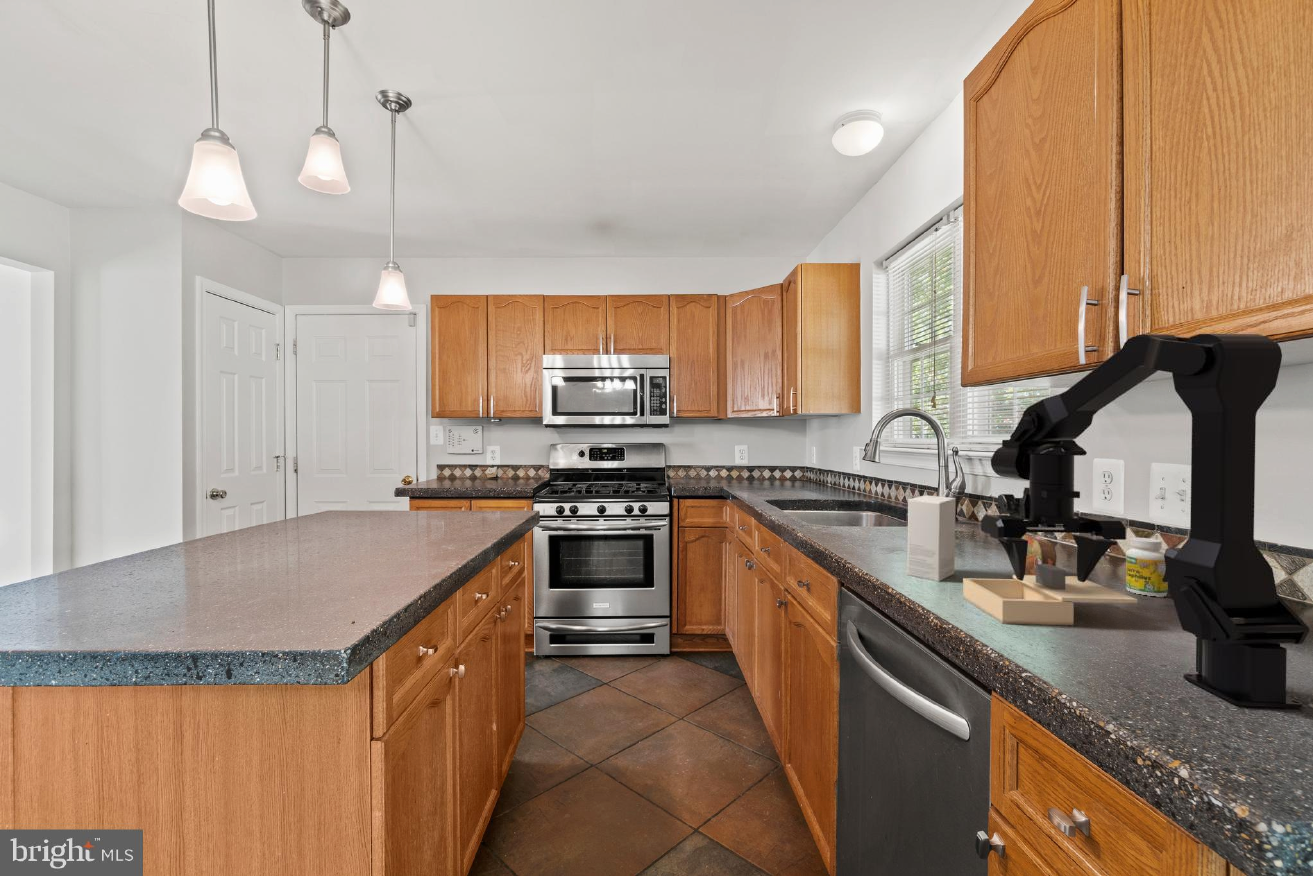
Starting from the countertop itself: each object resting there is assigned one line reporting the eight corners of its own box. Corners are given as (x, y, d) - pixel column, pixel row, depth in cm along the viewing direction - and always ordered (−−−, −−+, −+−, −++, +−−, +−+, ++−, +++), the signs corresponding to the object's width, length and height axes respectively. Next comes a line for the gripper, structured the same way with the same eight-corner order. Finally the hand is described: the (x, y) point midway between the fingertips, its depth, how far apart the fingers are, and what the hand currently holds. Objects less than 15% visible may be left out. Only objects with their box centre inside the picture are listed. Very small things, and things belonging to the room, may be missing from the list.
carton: (1073, 625, 78) (1073, 602, 78) (1002, 623, 79) (1002, 600, 79) (1024, 600, 90) (1024, 579, 90) (963, 598, 91) (963, 578, 91)
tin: (1013, 569, 111) (1013, 529, 111) (1031, 570, 110) (1031, 530, 110) (1038, 589, 97) (1039, 543, 96) (1059, 591, 96) (1059, 544, 95)
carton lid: (1137, 602, 77) (1137, 579, 77) (1061, 601, 78) (1061, 577, 78) (1077, 579, 90) (1077, 558, 89) (1012, 577, 90) (1012, 557, 90)
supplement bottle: (1174, 596, 92) (1175, 541, 92) (1153, 599, 91) (1154, 543, 90) (1138, 587, 97) (1139, 535, 97) (1118, 590, 96) (1118, 537, 96)
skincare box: (923, 568, 111) (924, 494, 111) (957, 575, 106) (958, 497, 106) (905, 575, 106) (905, 498, 106) (940, 582, 101) (940, 501, 100)
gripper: (1077, 479, 91) (1077, 569, 91) (964, 478, 93) (964, 566, 93) (1129, 485, 80) (1128, 588, 80) (1000, 484, 82) (999, 584, 82)
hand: (1050, 580), depth 84 cm, fingers open, 9 cm apart
